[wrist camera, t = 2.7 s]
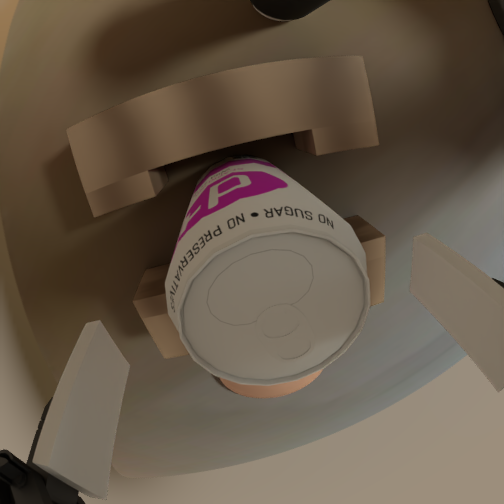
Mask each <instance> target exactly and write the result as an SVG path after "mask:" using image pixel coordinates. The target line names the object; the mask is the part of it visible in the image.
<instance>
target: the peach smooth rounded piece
mask: <svg viewBox="0 0 504 504" xmlns="http://www.w3.org/2000/svg"><path fill="white" fill-rule="evenodd" d="M322 370H323V369H322ZM322 370H320V371H318V372H315V373H313V374H311V375H309V376H306V377H304V378H302V379H299V380H297V381H292V382H287V383H282V384H276V385H271V386H261V385H243V384H238V383H235V382H232V381H229V380H226V379H223V378H220V377H219V378H220V380H221V381H222V383H223V384H224V385H225V386H226V387H227V388H229V389H230V390H232V391H233V392H235V393H237V394H240V395H243V396H247V397H252V398H273V397H279V396H283V395H287V394H290V393H293V392H295V391H297V390H299V389H301V388H303V387H305V386H306V385H308V384H309V383H311V382H312V381H313V380H314V379H315V378H316V377H317V376H318V375H319V374H320V373H321V371H322Z"/></svg>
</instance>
